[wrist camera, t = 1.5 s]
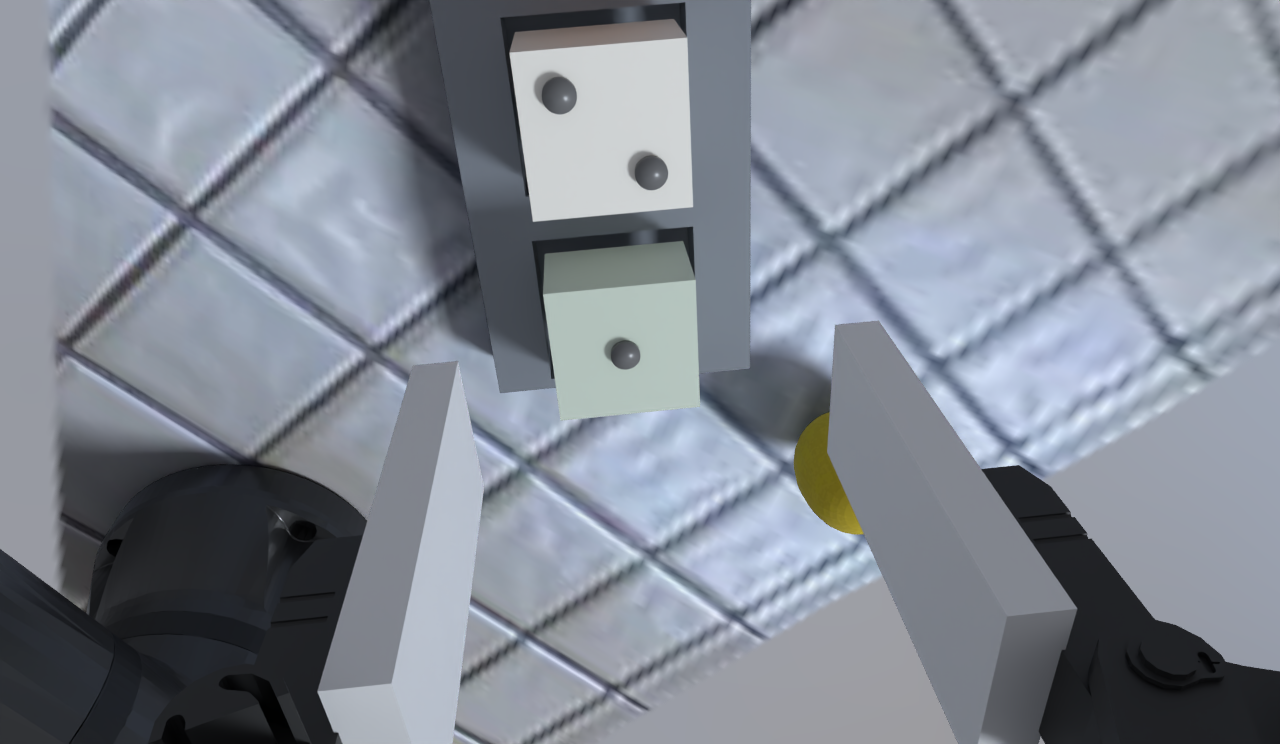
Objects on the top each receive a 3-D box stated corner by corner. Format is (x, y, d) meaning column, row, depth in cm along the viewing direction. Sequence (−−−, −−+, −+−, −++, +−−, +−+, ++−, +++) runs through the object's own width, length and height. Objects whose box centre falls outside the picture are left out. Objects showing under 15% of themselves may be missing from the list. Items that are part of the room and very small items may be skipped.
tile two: (535, 186, 35) (532, 224, 31) (515, 31, 32) (508, 54, 28) (680, 173, 35) (694, 210, 31) (673, 18, 32) (688, 39, 28)
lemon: (760, 444, 47) (794, 544, 40) (817, 366, 45) (863, 458, 38) (840, 477, 49) (886, 578, 42) (899, 404, 46) (957, 499, 39)
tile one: (560, 372, 40) (560, 424, 36) (544, 253, 36) (542, 297, 33) (688, 359, 40) (701, 410, 36) (683, 240, 37) (696, 283, 33)
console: (503, 361, 43) (500, 393, 40) (391, -284, 29) (375, -298, 27) (738, 338, 43) (750, 368, 41) (735, -309, 30) (751, -324, 27)
